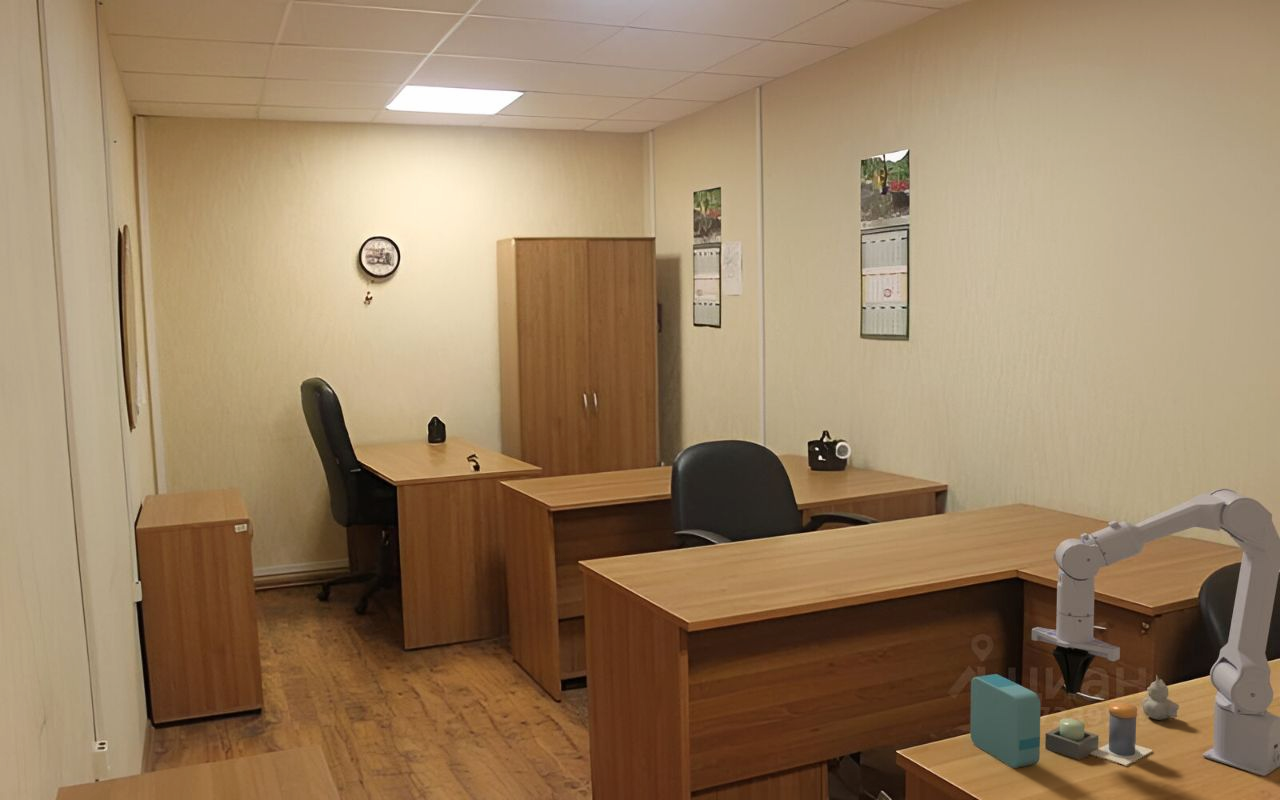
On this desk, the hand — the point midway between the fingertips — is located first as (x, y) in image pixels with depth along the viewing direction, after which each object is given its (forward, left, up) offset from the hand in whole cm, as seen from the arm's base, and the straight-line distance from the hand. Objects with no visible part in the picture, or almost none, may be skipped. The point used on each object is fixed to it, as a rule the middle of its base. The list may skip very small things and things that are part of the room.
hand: (1073, 691), depth 171 cm
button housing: (0, 0, -10) cm, 10 cm away
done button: (0, 0, -8) cm, 8 cm away
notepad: (-6, -5, -10) cm, 13 cm away
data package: (+6, +10, -10) cm, 16 cm away
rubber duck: (-3, -25, -10) cm, 27 cm away
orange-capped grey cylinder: (-6, -5, -10) cm, 12 cm away
